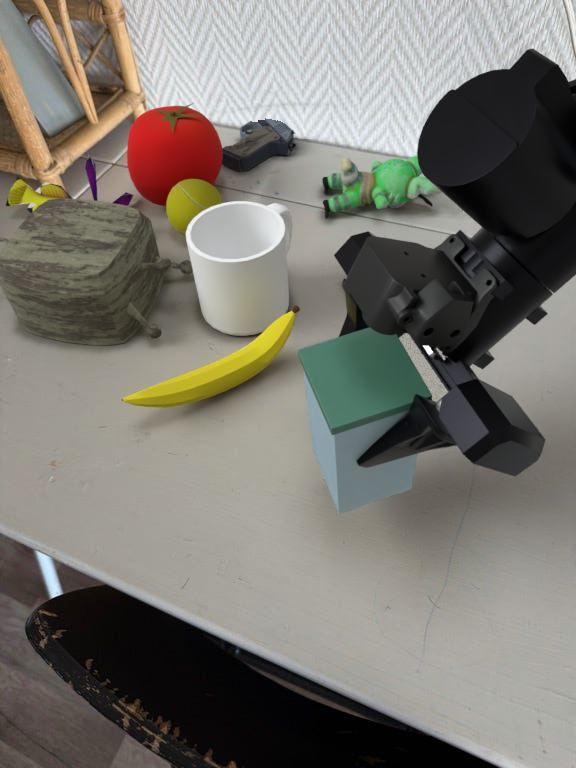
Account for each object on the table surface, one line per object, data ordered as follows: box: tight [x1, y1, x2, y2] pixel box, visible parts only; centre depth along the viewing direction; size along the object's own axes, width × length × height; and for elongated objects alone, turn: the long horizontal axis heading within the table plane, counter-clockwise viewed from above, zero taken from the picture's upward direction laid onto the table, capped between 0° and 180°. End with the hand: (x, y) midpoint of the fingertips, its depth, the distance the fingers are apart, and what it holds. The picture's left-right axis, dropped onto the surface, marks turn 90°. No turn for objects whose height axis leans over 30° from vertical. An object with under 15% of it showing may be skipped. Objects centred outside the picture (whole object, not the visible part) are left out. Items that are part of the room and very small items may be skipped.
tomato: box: [126, 102, 223, 207], centre depth 78 cm, size 12×14×11 cm
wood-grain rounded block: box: [0, 198, 193, 346], centre depth 66 cm, size 14×9×25 cm
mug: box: [185, 200, 293, 337], centre depth 64 cm, size 13×10×10 cm
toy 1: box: [5, 153, 135, 214], centre depth 76 cm, size 12×19×10 cm
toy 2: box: [321, 155, 443, 219], centre depth 77 cm, size 10×7×15 cm
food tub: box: [296, 327, 433, 515], centre depth 42 cm, size 6×6×13 cm
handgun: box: [222, 118, 297, 172], centre depth 89 cm, size 2×14×12 cm
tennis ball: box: [165, 179, 224, 237], centre depth 74 cm, size 7×7×7 cm
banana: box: [121, 305, 301, 409], centre depth 58 cm, size 3×19×6 cm, turn 122°
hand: (340, 424), depth 41 cm, fingers closed on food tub, 7 cm apart
